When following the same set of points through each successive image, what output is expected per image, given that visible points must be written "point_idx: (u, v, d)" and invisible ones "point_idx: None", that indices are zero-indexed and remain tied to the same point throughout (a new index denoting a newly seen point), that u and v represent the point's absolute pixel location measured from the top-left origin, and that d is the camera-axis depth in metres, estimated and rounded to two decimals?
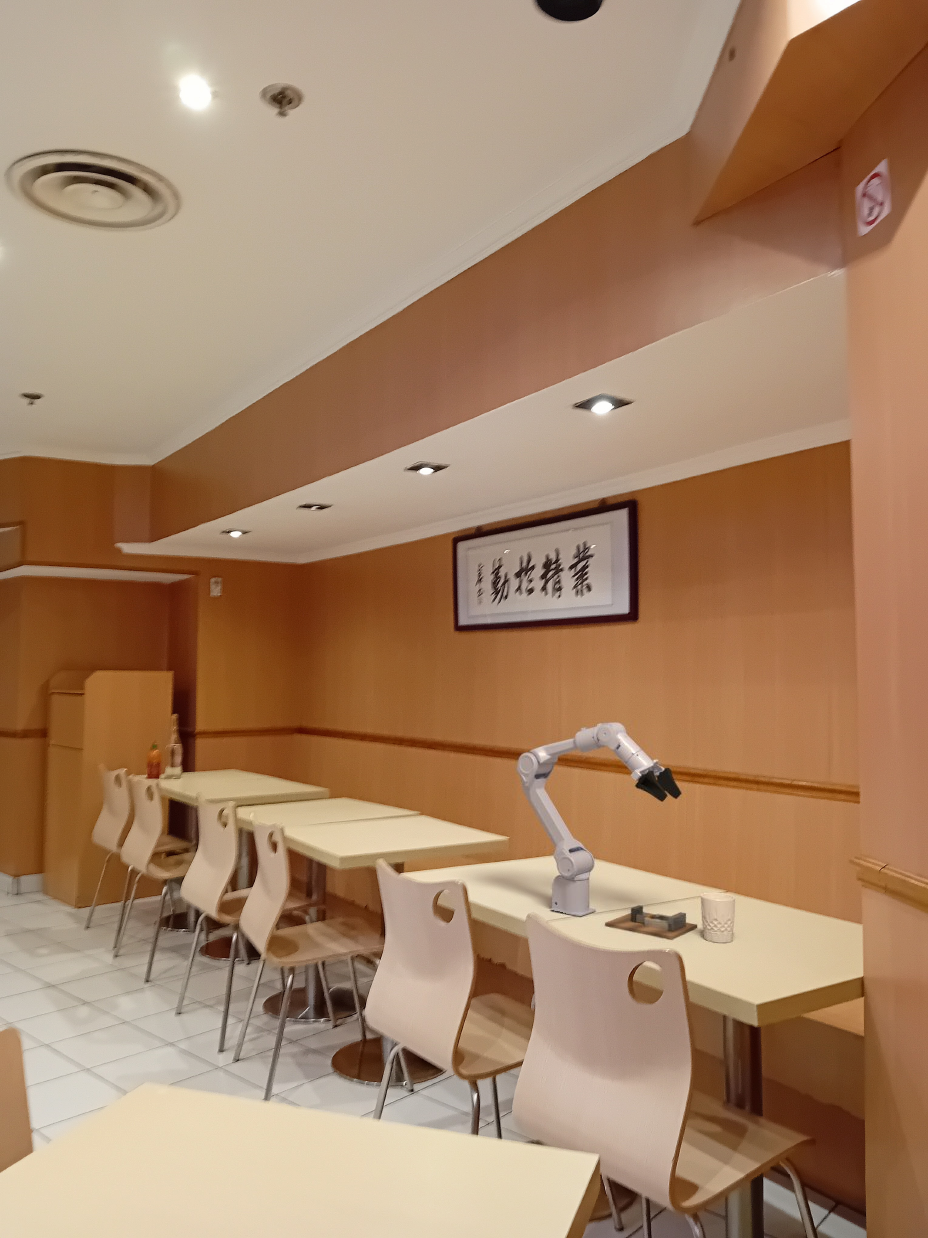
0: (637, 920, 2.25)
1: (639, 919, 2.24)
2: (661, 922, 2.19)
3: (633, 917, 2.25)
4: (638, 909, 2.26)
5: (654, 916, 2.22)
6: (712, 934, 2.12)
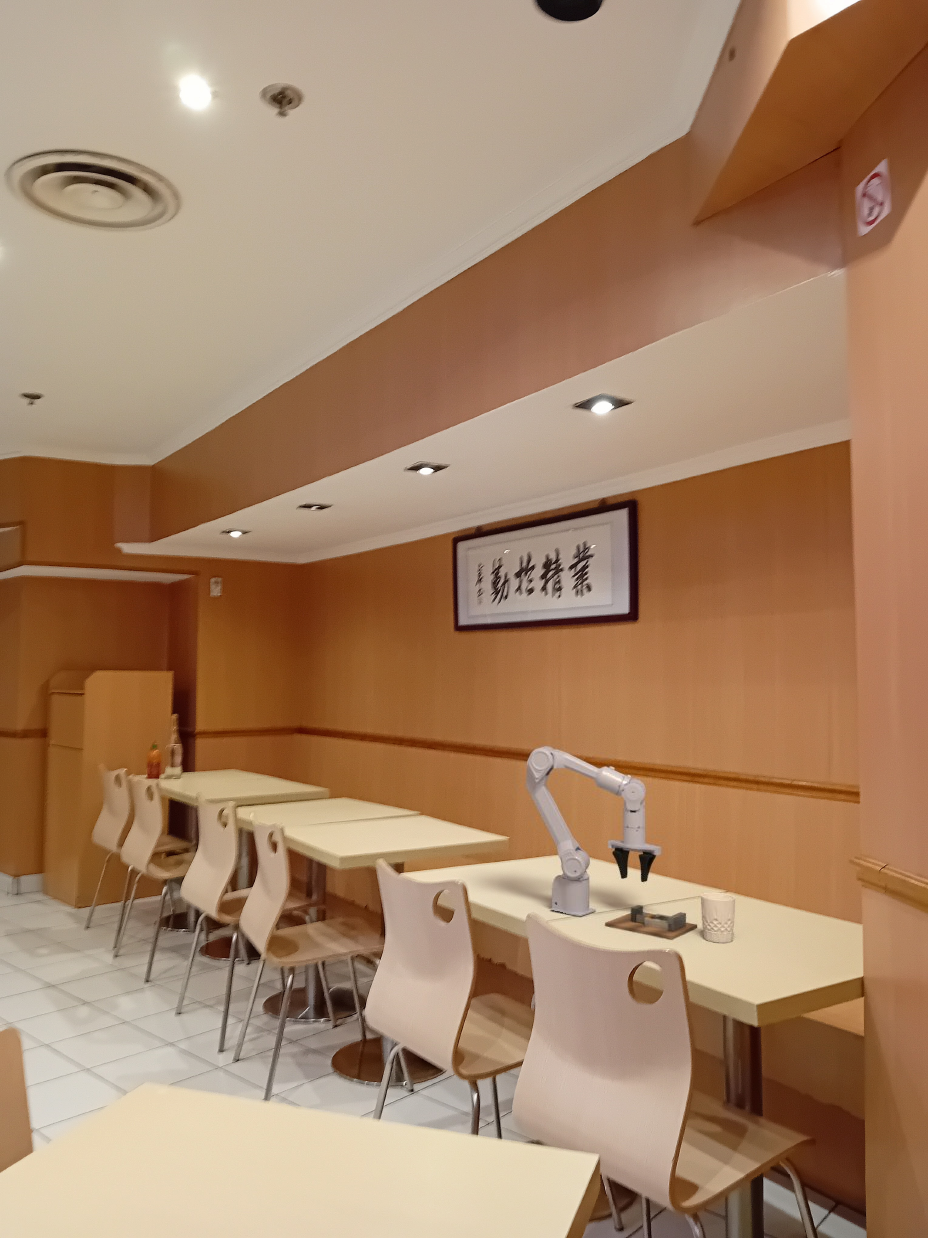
0: (637, 920, 2.25)
1: (639, 919, 2.24)
2: (661, 922, 2.19)
3: (633, 917, 2.25)
4: (638, 909, 2.26)
5: (654, 916, 2.22)
6: (712, 934, 2.12)
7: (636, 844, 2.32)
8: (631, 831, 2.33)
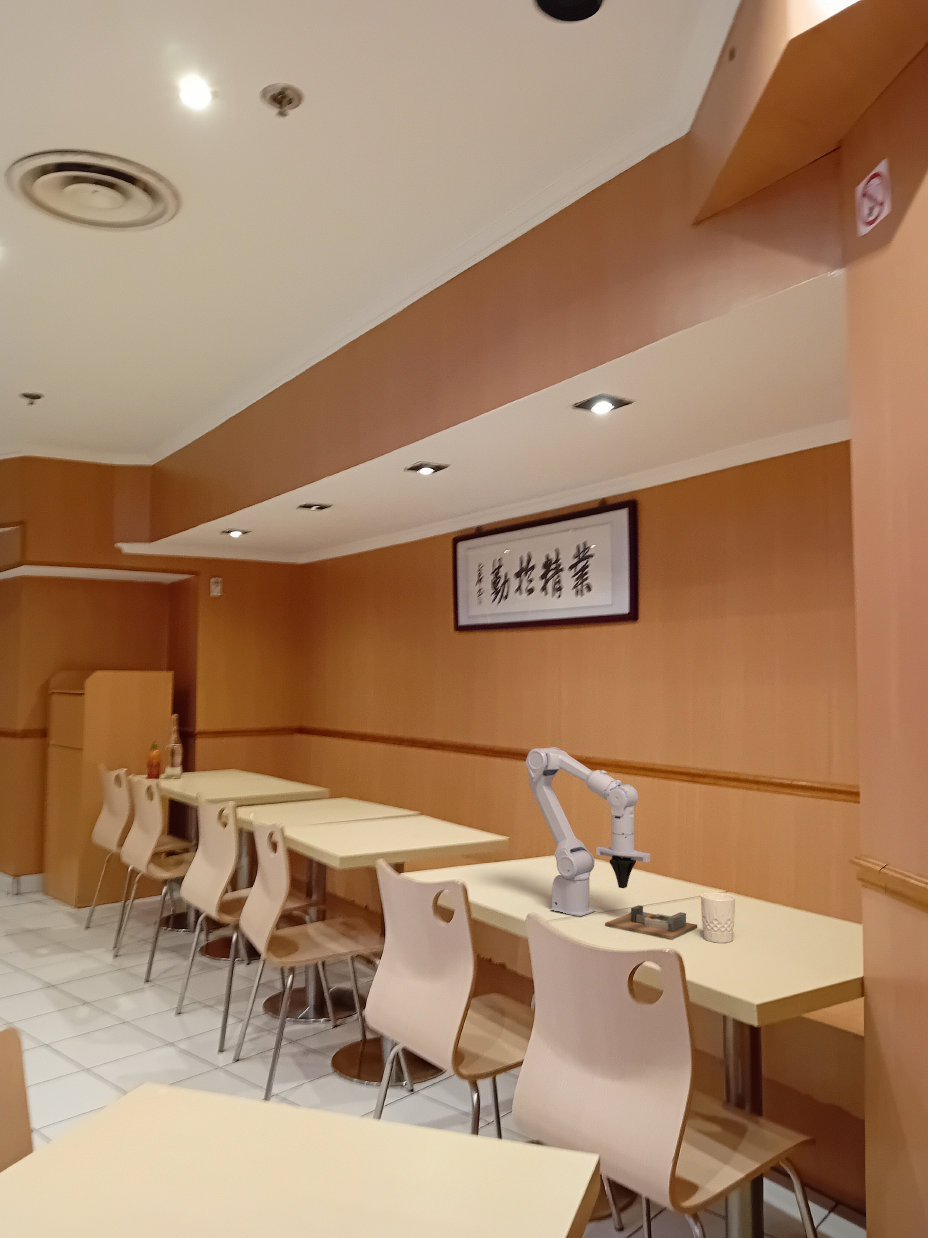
0: (637, 920, 2.25)
1: (639, 919, 2.24)
2: (661, 922, 2.19)
3: (633, 917, 2.25)
4: (638, 909, 2.26)
5: (654, 916, 2.22)
6: (712, 934, 2.12)
7: (625, 851, 2.28)
8: (619, 838, 2.28)
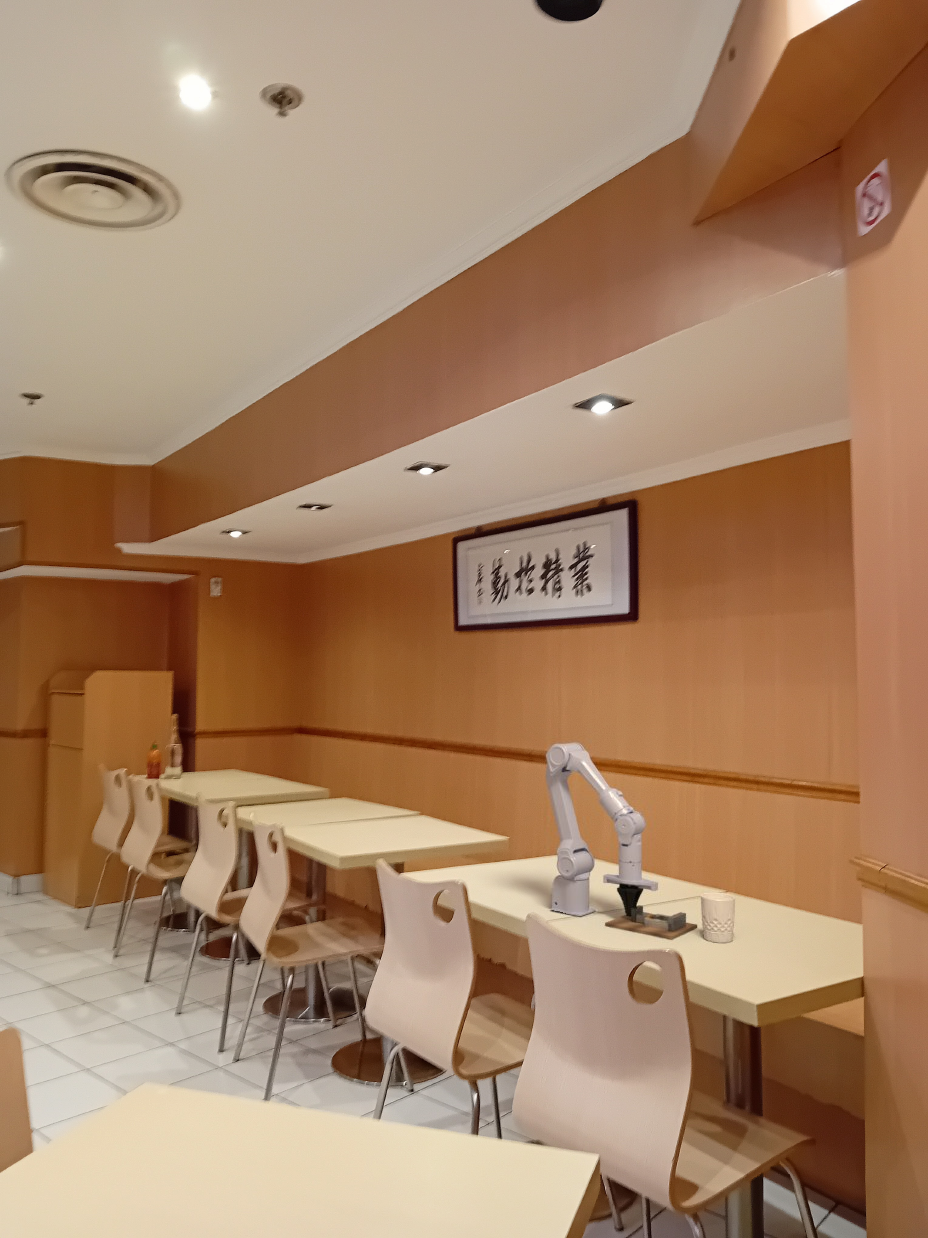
0: (637, 920, 2.25)
1: (639, 919, 2.24)
2: (661, 922, 2.19)
3: (633, 917, 2.25)
4: (638, 909, 2.26)
5: (654, 916, 2.22)
6: (712, 934, 2.12)
7: (632, 879, 2.26)
8: (627, 866, 2.26)
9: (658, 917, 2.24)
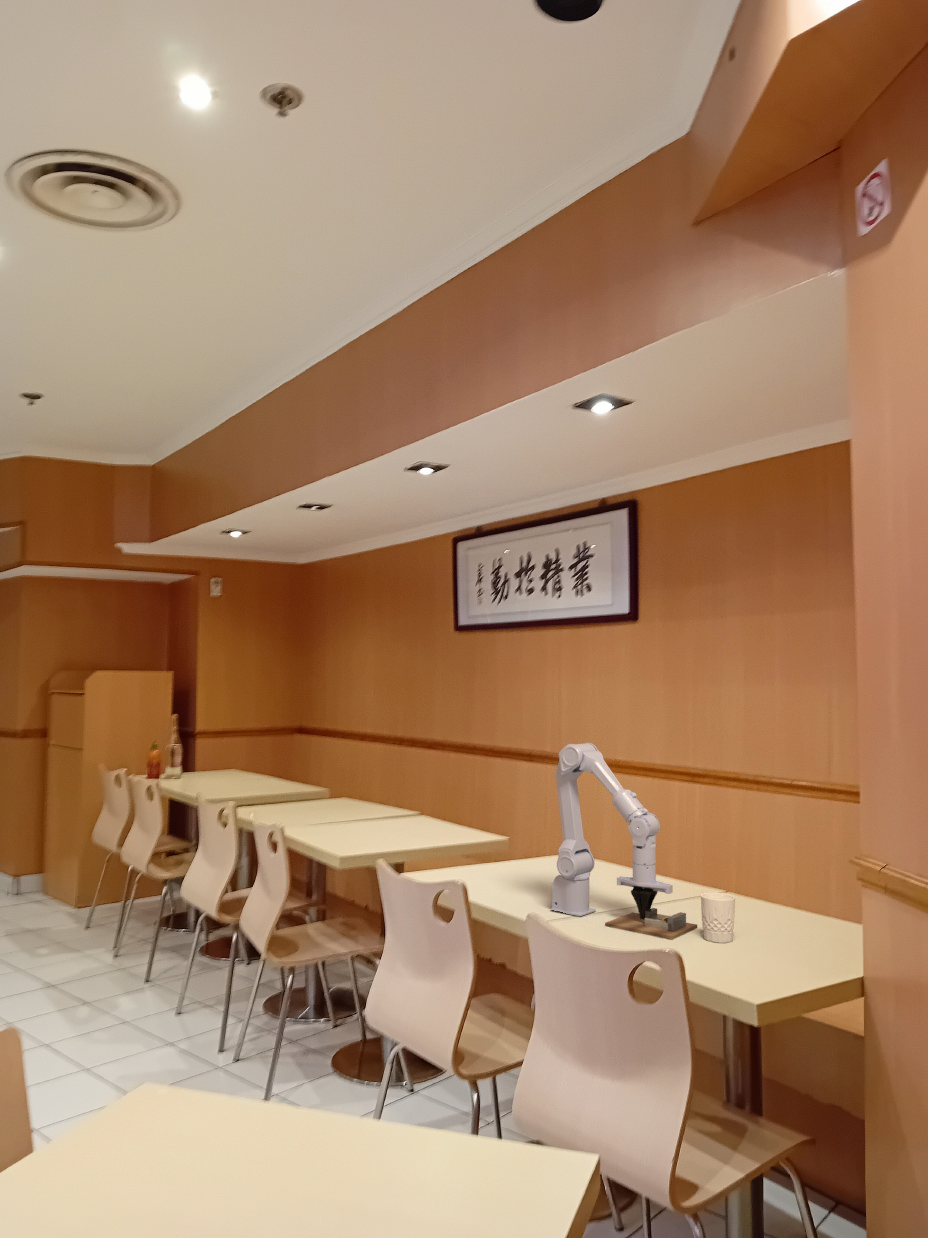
0: None
1: None
2: (661, 922, 2.19)
3: None
4: (652, 912, 2.24)
5: None
6: (712, 934, 2.12)
7: (646, 882, 2.23)
8: (641, 868, 2.24)
9: None
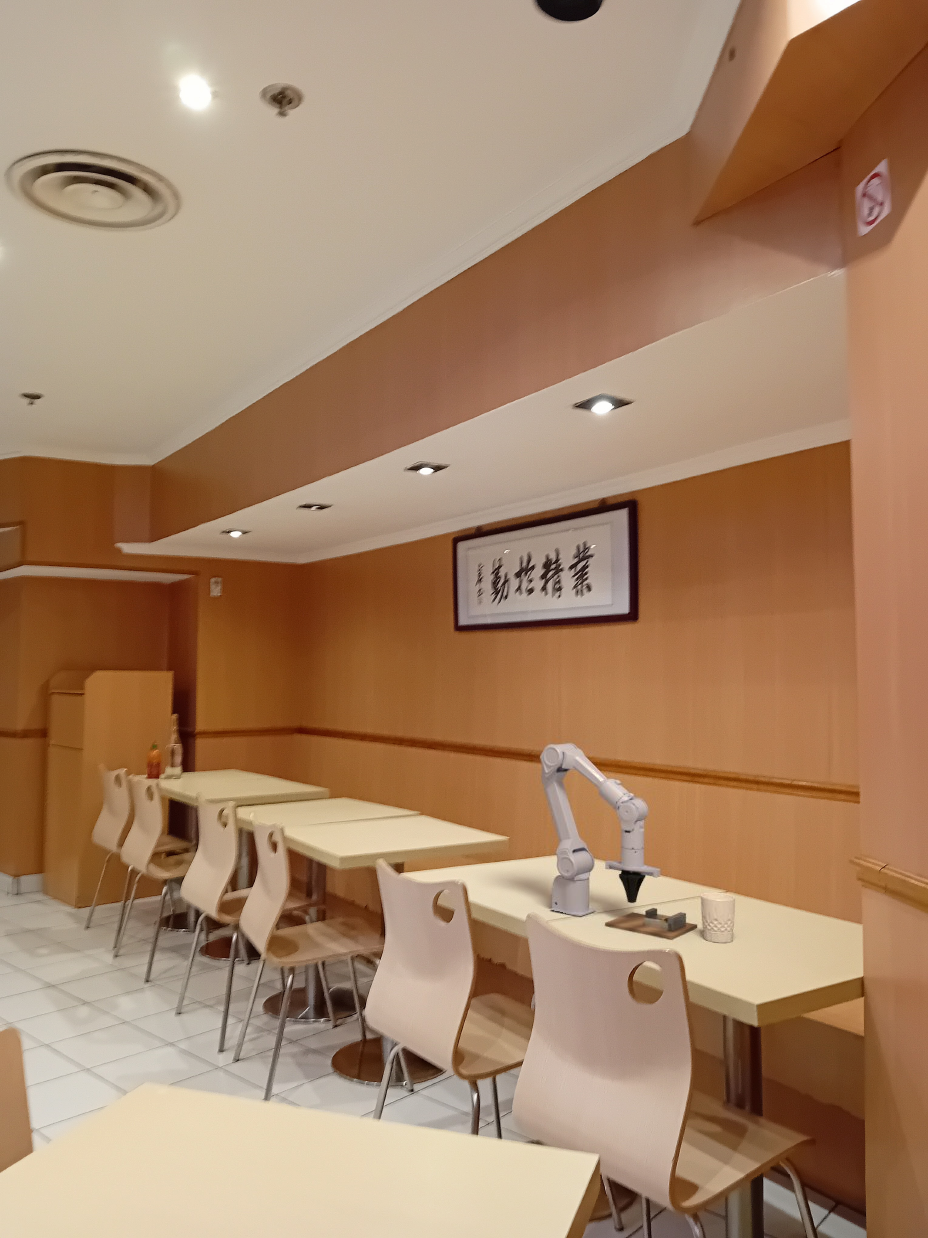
0: None
1: None
2: (661, 922, 2.19)
3: None
4: (652, 912, 2.24)
5: None
6: (712, 934, 2.12)
7: (634, 866, 2.26)
8: (629, 852, 2.26)
9: None
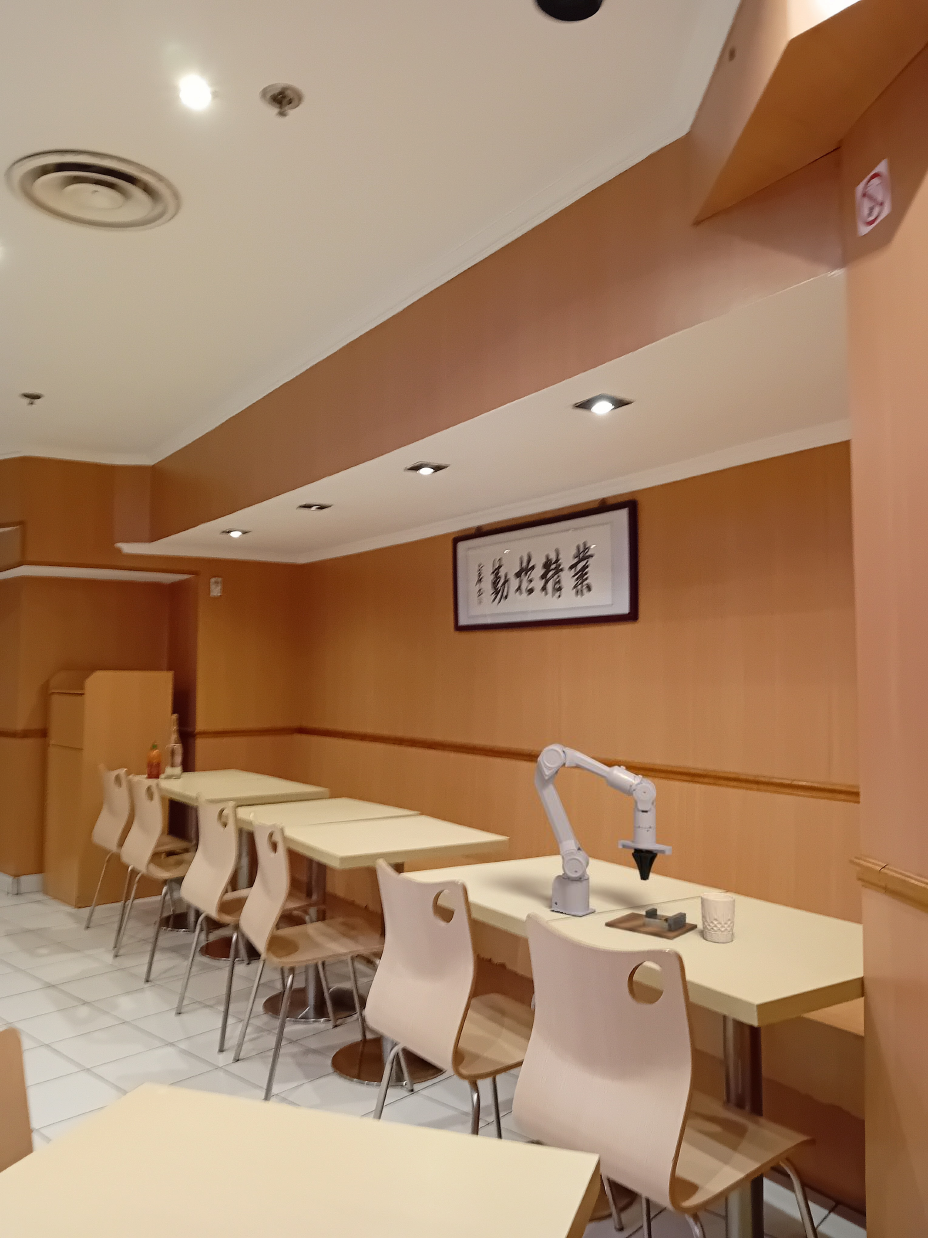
0: None
1: None
2: (661, 922, 2.19)
3: None
4: (652, 912, 2.24)
5: None
6: (712, 934, 2.12)
7: (647, 844, 2.33)
8: (642, 831, 2.33)
9: None
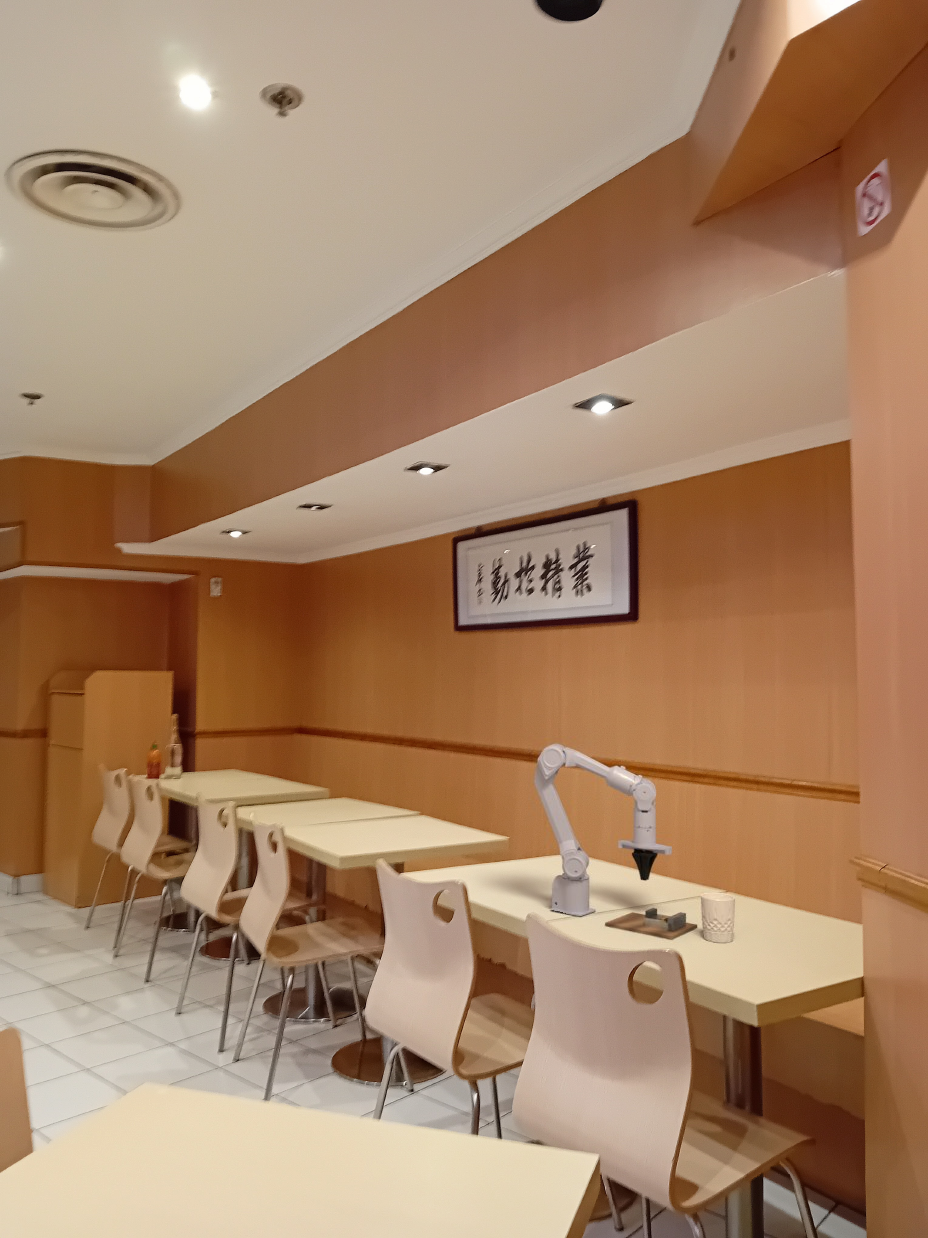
0: None
1: None
2: (661, 922, 2.19)
3: None
4: (652, 912, 2.24)
5: None
6: (712, 934, 2.12)
7: (647, 844, 2.33)
8: (642, 831, 2.33)
9: None
